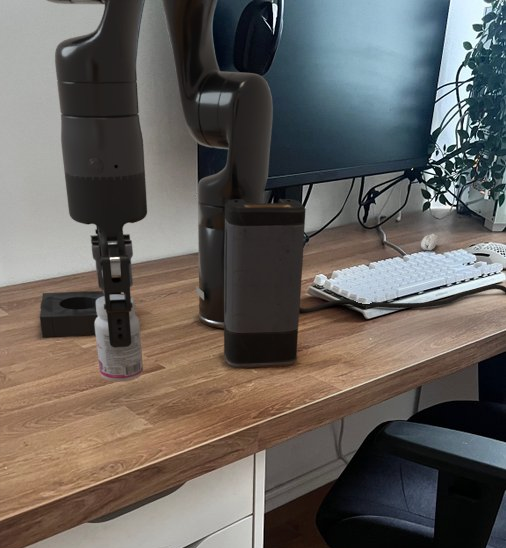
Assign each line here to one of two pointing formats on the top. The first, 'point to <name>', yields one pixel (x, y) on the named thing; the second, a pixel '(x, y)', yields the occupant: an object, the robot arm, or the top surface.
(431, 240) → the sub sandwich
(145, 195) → the robot arm
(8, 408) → the top surface
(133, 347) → the pill bottle
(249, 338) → the electronic device
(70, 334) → the socket plate
